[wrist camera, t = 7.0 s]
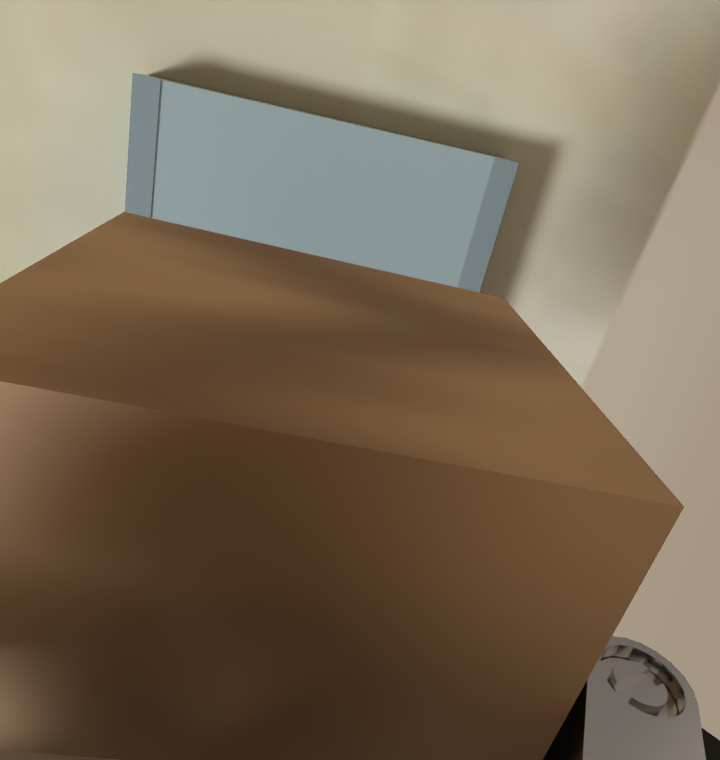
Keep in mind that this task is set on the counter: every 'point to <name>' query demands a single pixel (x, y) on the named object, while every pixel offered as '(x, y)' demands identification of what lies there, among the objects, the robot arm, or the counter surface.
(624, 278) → the counter surface
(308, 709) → the wooden block
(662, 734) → the robot arm
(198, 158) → the plate
